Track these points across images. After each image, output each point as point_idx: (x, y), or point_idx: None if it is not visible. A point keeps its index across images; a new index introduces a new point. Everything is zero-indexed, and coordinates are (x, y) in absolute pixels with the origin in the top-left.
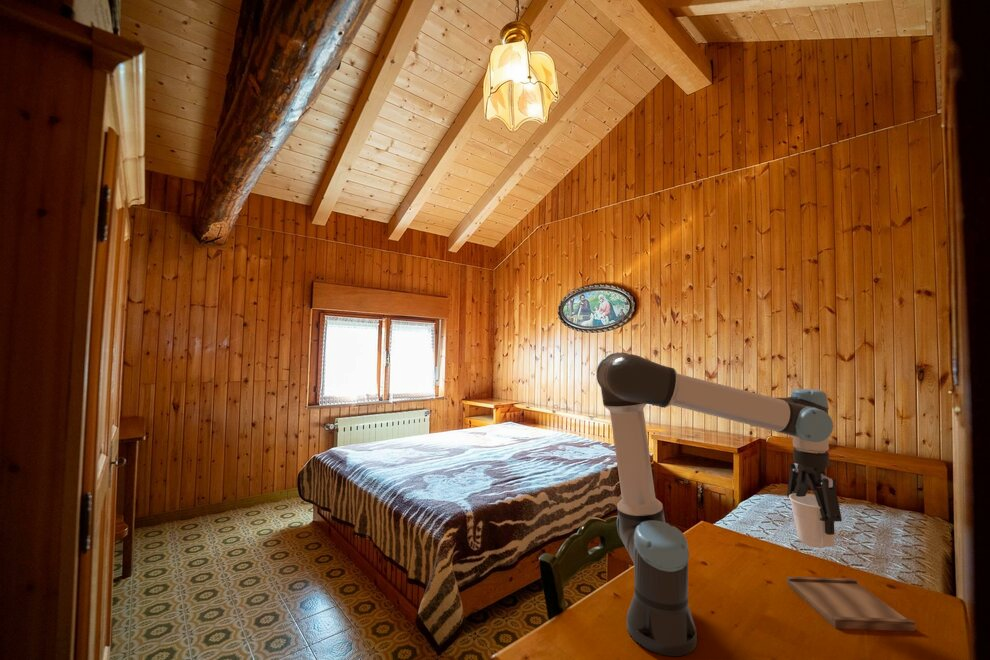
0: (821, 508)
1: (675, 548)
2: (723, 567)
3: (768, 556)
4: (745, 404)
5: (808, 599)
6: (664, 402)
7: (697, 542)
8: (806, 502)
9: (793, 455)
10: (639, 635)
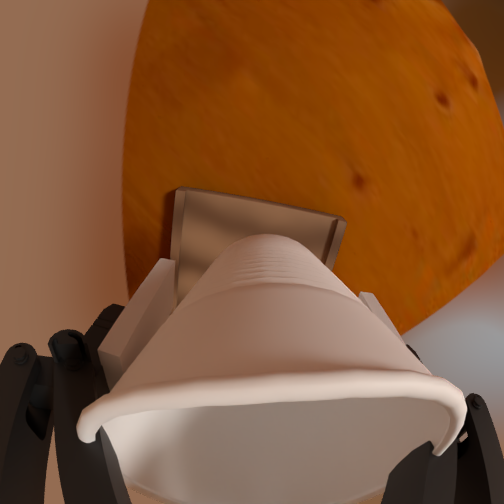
0: (68, 428)
1: None
2: (424, 126)
3: (428, 267)
4: None
5: (265, 202)
6: None
7: (496, 161)
8: (372, 441)
9: None
10: None
